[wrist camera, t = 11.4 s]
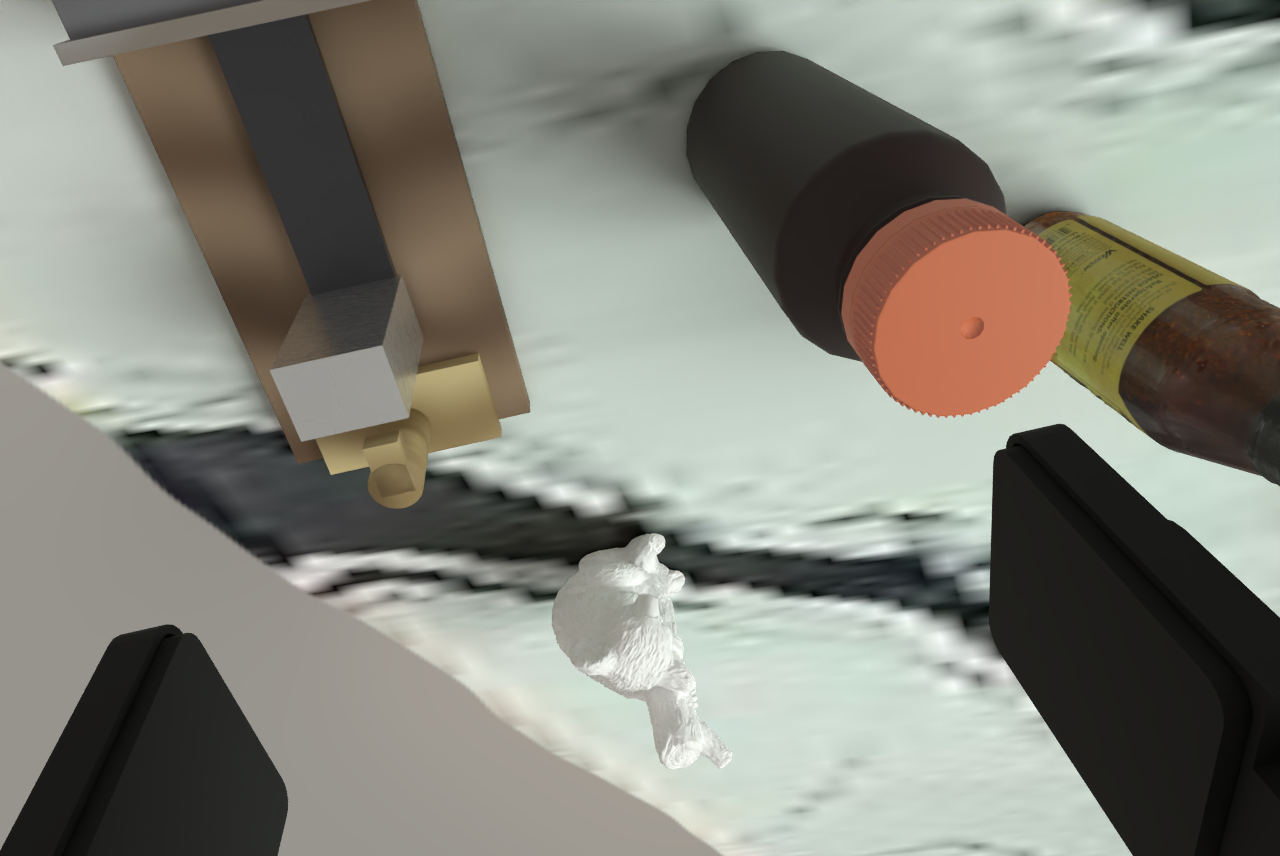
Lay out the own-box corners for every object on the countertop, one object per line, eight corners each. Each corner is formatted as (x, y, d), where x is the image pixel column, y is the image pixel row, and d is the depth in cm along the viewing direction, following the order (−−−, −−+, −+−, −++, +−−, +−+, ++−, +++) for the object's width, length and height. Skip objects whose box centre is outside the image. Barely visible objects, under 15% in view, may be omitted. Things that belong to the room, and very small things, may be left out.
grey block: (200, 22, 32) (128, 52, 26) (310, -1, 32) (264, 23, 26) (333, 355, 39) (301, 441, 33) (423, 335, 39) (408, 417, 33)
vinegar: (650, 140, 38) (771, 342, 21) (769, 10, 36) (1011, 115, 19) (757, 244, 41) (941, 497, 24) (872, 129, 39) (1164, 314, 22)
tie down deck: (-9, -244, 29) (-132, -277, 23) (328, -313, 29) (287, -363, 24) (306, 461, 43) (276, 545, 38) (532, 410, 44) (536, 487, 38)
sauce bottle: (978, 337, 45) (1269, 609, 28) (987, 214, 41) (1324, 435, 24) (1106, 316, 45) (1471, 571, 28) (1125, 192, 42) (1552, 395, 25)
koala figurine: (721, 566, 50) (778, 740, 40) (635, 638, 52) (668, 822, 41) (612, 483, 46) (642, 650, 36) (523, 564, 48) (528, 745, 38)
